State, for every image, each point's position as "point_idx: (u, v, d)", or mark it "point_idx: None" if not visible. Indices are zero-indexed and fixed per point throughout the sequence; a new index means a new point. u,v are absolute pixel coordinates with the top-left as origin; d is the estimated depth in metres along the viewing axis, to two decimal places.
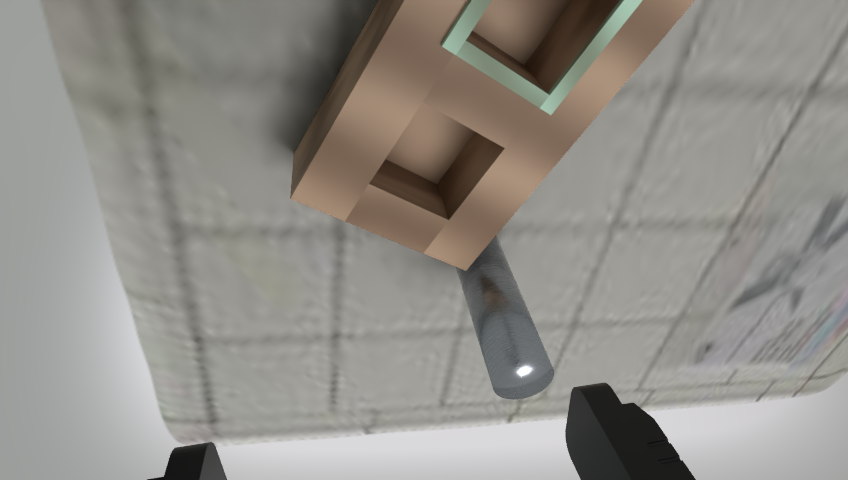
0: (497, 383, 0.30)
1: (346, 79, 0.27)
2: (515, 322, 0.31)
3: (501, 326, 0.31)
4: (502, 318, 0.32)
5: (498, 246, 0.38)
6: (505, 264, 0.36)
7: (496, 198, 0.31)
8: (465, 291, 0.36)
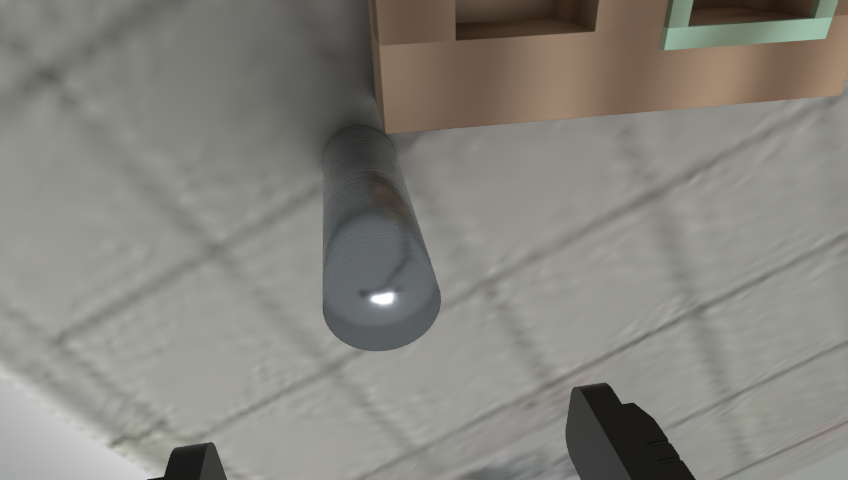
0: (350, 274, 0.15)
1: None
2: (419, 231, 0.18)
3: (401, 218, 0.18)
4: (404, 213, 0.18)
5: None
6: None
7: (521, 80, 0.20)
8: (343, 167, 0.22)
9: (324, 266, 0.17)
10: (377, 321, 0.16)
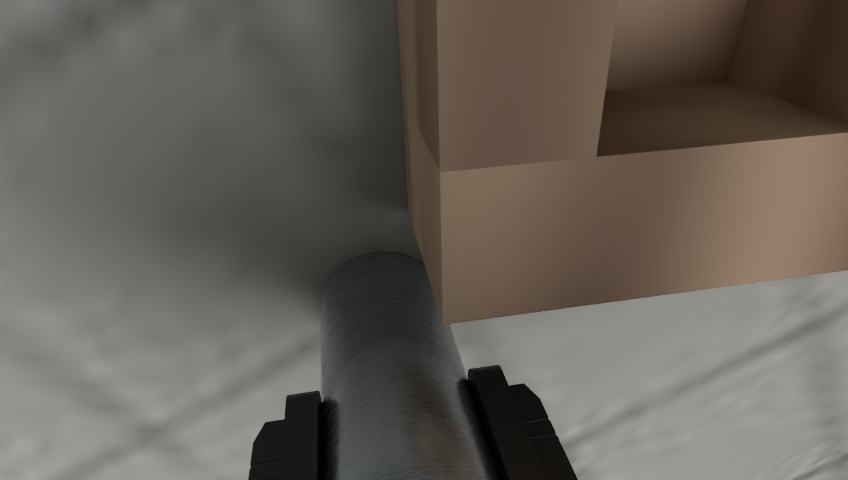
0: None
1: None
2: None
3: None
4: None
5: None
6: None
7: (709, 222, 0.10)
8: (358, 373, 0.11)
9: None
10: None
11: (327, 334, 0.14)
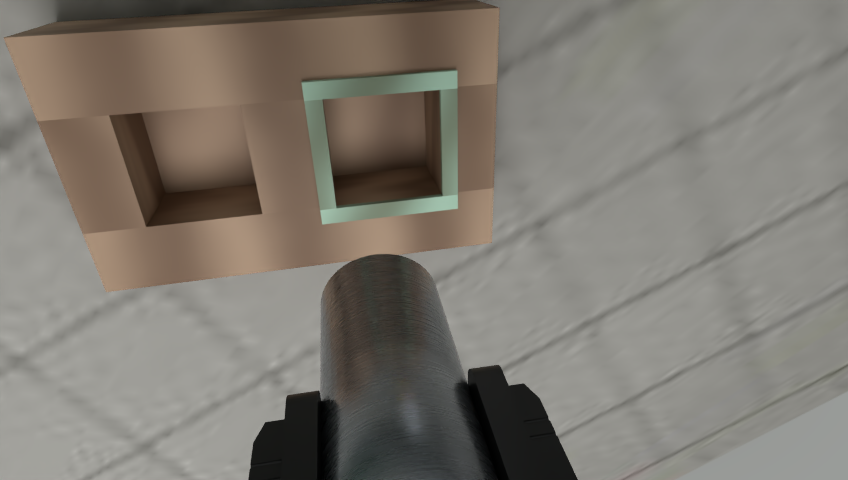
0: None
1: (192, 20, 0.23)
2: None
3: None
4: None
5: None
6: None
7: (210, 249, 0.26)
8: (357, 375, 0.11)
9: None
10: None
11: (326, 336, 0.14)
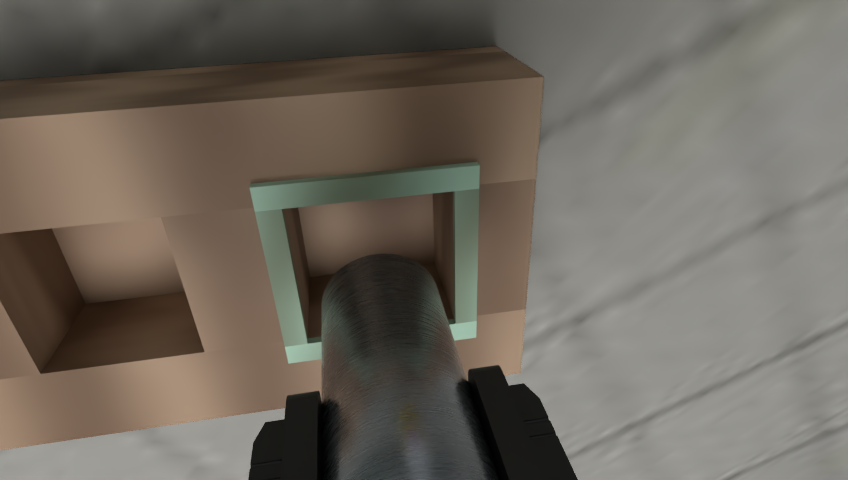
0: None
1: (94, 91, 0.16)
2: None
3: None
4: None
5: None
6: None
7: (135, 396, 0.19)
8: (359, 374, 0.11)
9: None
10: None
11: (327, 336, 0.14)
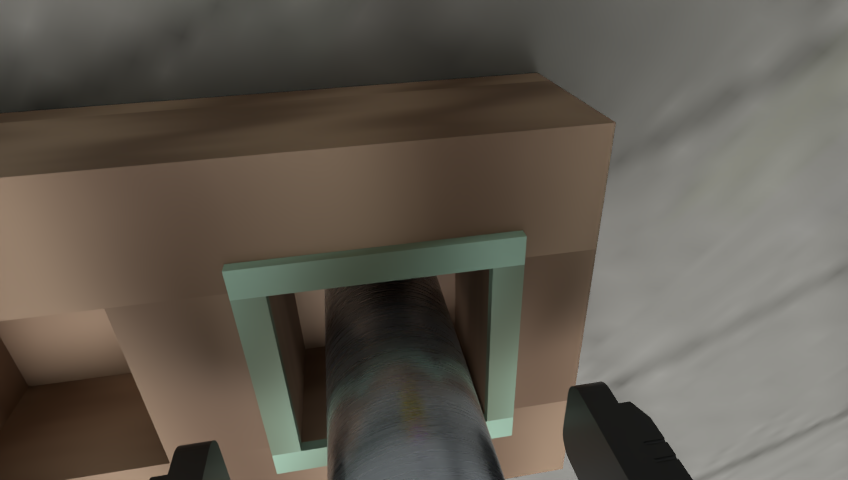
0: None
1: (16, 140, 0.12)
2: None
3: None
4: (484, 478, 0.10)
5: None
6: None
7: None
8: (360, 332, 0.13)
9: None
10: None
11: (330, 301, 0.15)
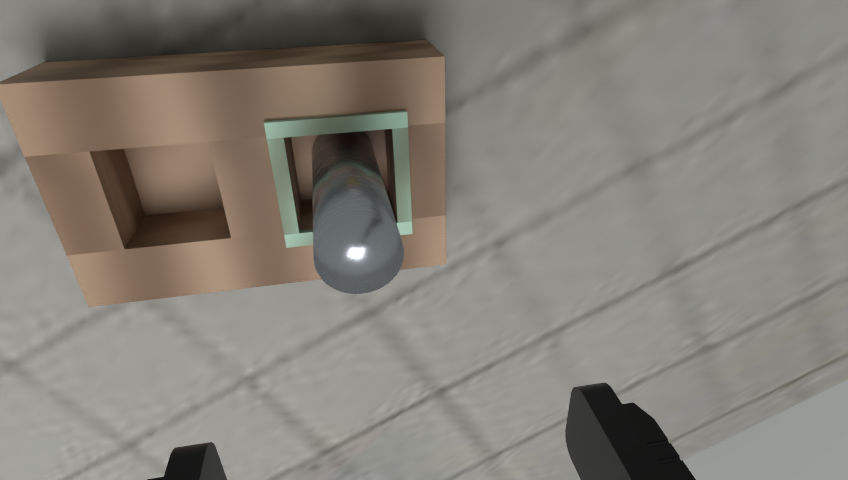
0: (334, 230, 0.20)
1: (166, 64, 0.26)
2: (388, 203, 0.23)
3: (374, 192, 0.23)
4: (377, 189, 0.23)
5: None
6: None
7: (184, 269, 0.29)
8: (328, 156, 0.27)
9: (314, 228, 0.22)
10: (355, 269, 0.21)
11: (315, 154, 0.29)
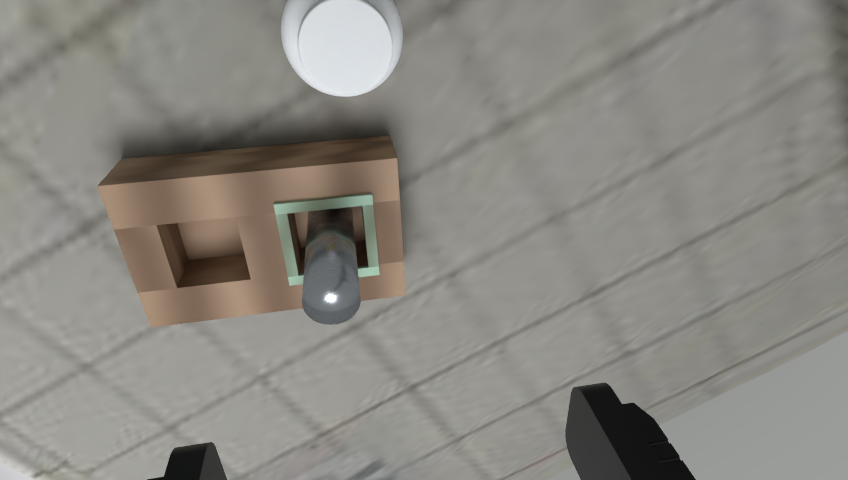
0: (315, 285, 0.32)
1: (207, 163, 0.38)
2: (354, 263, 0.35)
3: (344, 256, 0.35)
4: (346, 253, 0.35)
5: None
6: None
7: (217, 301, 0.41)
8: (317, 224, 0.38)
9: (303, 281, 0.34)
10: (329, 309, 0.33)
11: (309, 220, 0.40)
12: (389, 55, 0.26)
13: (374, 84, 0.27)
